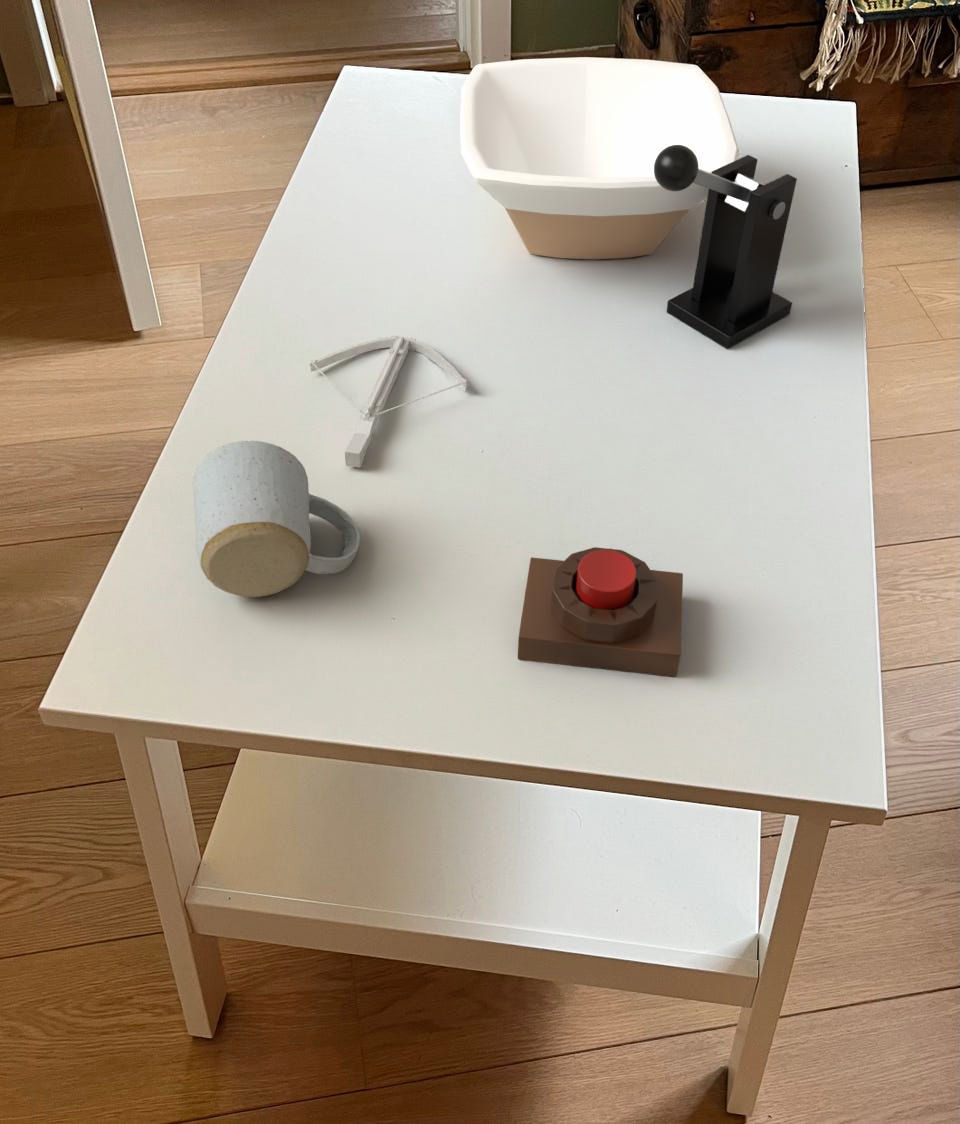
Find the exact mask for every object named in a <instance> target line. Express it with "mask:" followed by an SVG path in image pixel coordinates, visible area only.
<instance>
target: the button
mask: <svg viewBox="0 0 960 1124" xmlns="http://www.w3.org/2000/svg"><path fill="white" fill-rule="evenodd" d="M635 579H636V568H635V566H634V564H633V562H632V561H631V560H630V559H629V558H628V557H627V556H625V555H623V554H621V553H619V552H616V551H612V550H598V551H594V552H591V553H589V554H587V555H586V556H585V557H583V559H582V560H581V561H580V563H579V565H578V572H577V583H576V590H577V594H578V595H579V597H580V599H581V600H582V601H583V602H584V603H586V604H587V605H589V606H591V607H593V608H596V609H603V610H614V609H618V608H621V607H623V606H624V605H626V604H627V603H628V602H629V601H630V600H631V598H632V596H633V593H634V586H635Z"/></svg>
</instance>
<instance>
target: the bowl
mask: <svg viewBox="0 0 960 1124" xmlns="http://www.w3.org/2000/svg"><path fill="white" fill-rule="evenodd" d="M460 90H461V92H460V93H461V94H460V117H459V119H460V120H459V121H460V123H459V125H460V153H461V158H462V159H463V161H464V163H465V165H466V167H467V169H468V171H469V173H470V175H471V176H472V178H473V180H474V182H475V183H476V184H477V185H478V186H479V187H481V188H482V189H483V190H484V191H485V192H486V193H487V194H488V195H489V196H491V197H492V198H493V199H494V200H495V201H496V202H498V204H500V205H501V206H502V207H503V208H504V210H505V212H506V213H507V215H508V217H509V219H510V221H511V223H512V224H513V226H514V227H515V229H516V231H517V234H518V235H519V237H520V239H521V241H522V243H523V244H524V246H525V248H526V250H527V252H528V253H529V254H530V255H534V256H543V257H548V258H549V257H550V258H556V259H573V260H574V259H575V260H576V259H577V260H609V259H610V260H611V259H628V258H635V257H641V256H649V255H652V254H654V253H655V251H656V250H657V249H658V247H660V245H661V244H662V243H663V241H664V240H665V239H666V238H667V236H669V235H670V233H671V232H672V231H673V230H674V229H675V227H676V226H677V225H678V224H679V222H680V221H681V220H682V219H683V218H684V217H685V216H686V214H687V213H688V212H689V211H690V210H691V209H693V208H695V207H696V206H698V205H700V204H701V203H703V202H704V201H707V197H708V190H709V189H708V188H706V187H703V186H700V185H697V184H695V183H692V184H691V185H690V186H689V187H687V188H686V189H684V190H681V191H669V190H666V189H664V188H663V187H662V186H660V185H659V183H658V182H657V180H656V178H655V175H654V163H655V160H656V158H657V156H658V155H659V153H660V152H661V151H662V150H663V149H665V148H666V147H669V146H671V145H683V146H686V147H688V148H689V149H691V150H692V151H693V152H694V154H695V155H696V157H697V160H698V165H699V167H698V168H699V169H702V170H704V171H707V172H709V173H711V172H712V171H714V170H716V169H718V168H721V167H723V166H725V165H727V164H729V163H731V162H734V161H736V160H738V159H739V155H740V148H739V144H738V143H737V139H736V135H735V133H734V132H735V131H734V130H733V127H732V123H731V120H730V117H729V114H728V111H727V108H726V106H725V103H724V101H723V98H722V96H721V95H722V94H721V93H720V90H719V88H718V86H717V85H716V84H715V83H714V82H713V80H711V79H710V78H709V76H708V75H707V74H706V73H705V72H704V71H703V70H702V69H701V68H700V67H699V66H698V65H696V64H691V63H682V62H672V61H665V60H653V59H640V58H639V59H638V58H617V57H616V58H615V57H614V58H613V57H591V56H590V57H589V56H584V57H583V56H581V57H580V56H578V57H553V58H552V57H551V58H550V57H549V58H548V57H547V58H525V59H524V58H523V59H513V60H504V61H495V62H486V63H478V64H476V65H475V66H474V67H473V68H472V70H471V71H470V73H469V74H468V76H467V77H466V80H465V81H464V83H463V85H462V86H461V89H460Z"/></svg>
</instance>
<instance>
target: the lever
mask: <svg viewBox="0 0 960 1124" xmlns="http://www.w3.org/2000/svg"><path fill="white" fill-rule="evenodd" d="M698 167H699V165H698V160H697V157H696V155H695V154H694V152H693V151H692V150H691V149H689V148H688V147H686V146H683V145H671V146H669V147H666V148H665V149H663V150H662V151H661V152H660V153H659V155H658V156H657V158H656V160H655V163H654V175H655V178H656V180H657V182H658V183H659V185H660V186H662V187H663V188H664V189H666V190H669V191H681V190H684V189H686V188H687V187H689V186H690V185H691V184H692V183H695V184H697V185H700V186H703V187H706V188H708V189H711V190H714V191H717V192H719V193H722V194H725V195H727V197H726V199H725V201H724V202H725V203H727V204H729V205H731V206H733V207H735V208H737V209H739V210H741V211H743V212H744V213H747V208H748V202H749V197H750V192H751V191H753V190H755V189H757V188H759V187H761V186H763V185H765V184H766V183H763V182H761V181H759V180H757V179H755V178H754V179H753V178H750V177H748V176H745V175H743V174H740V173H738V175H737V177H736V179H735V181H734V182H733V181H730V180H728V179H725V178H722V177H720V176H717V175H715V174H712V173H709V172H707V171H704V170H702V169H699V168H698Z"/></svg>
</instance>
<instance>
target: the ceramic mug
mask: <svg viewBox="0 0 960 1124" xmlns="http://www.w3.org/2000/svg"><path fill="white" fill-rule="evenodd" d="M192 490H193V508H194V509H193V510H194V523H195V543H196V554H197V557H198V560H199V561H198V562H199V564H200V568H201V570H202V572H203V574H204V576H205V578H206V579H207V580H208V581H209V582H210V583H211V584H212V585H213V586H215V587H216V588H217V589H220V590H221V591H223V592H225V593H228V594H232V595H234V596H238V597H246V598H259V597H266V596H271V595H274V594H278V593H280V592H282V591H284V590H286V589H288V588H290V587H292V586H293V585H295V584H296V583H297V582H298V581H299V580H300V579H301V578H302V576H303V575H304V573H305V572H309V573H312V574H318V575H325V574H327V575H331V574H338V573H341V572H343V571H344V570H346V569H347V568H348V567H350V565H351V564H352V562H353V560H354V559H355V557H356V555H357V553H358V550H359V548H360V543H361V539H360V538H361V537H360V536H361V535H360V531H359V527H358V525H357V523H356V521H355V520H354V519H353V518H352V516H351V515H350V514H349V513H348V512H346V511H345V510H343V509H342V508H341V507H339V506H338V505H337V504H334V503H333V502H331V501H329V500H327V499H325V498H322V497H319V496H317V495H313V494H310V491H309V477H308V474H307V471H306V469H305V466H304V465H303V463H302V462H301V461H300V460H299V459H298V457H296V456H295V455H294V454H293V453H292V452H290V451H289V450H287V449H285V448H283V447H281V446H279V445H276V444H274V443H270V442H266V441H261V440H239V441H233V442H230V443H227V444H224V445H221V446H219V447H217V448H215V449H213V450H212V451H210V452H208V454H207V455H205V456H204V458H203V459H202V460H201V461H200V462H199V464H197V467H196V469H195V471H194V474H193V478H192ZM310 514H311V515H313V516H315V517H319V518H320V519H323V520H325V521H326V522H328V523H330V524H332V525H333V526H334V527H335V528H337V529H338V531H340V533H342V536H343V539H344V550H343V551H342V553H341V556H337V557H331V556H328V557H327V556H321V555H314V554H312V553H311V549H312V548H311V547H312V536H311V534H312V533H311V526H310V525H311V524H310Z"/></svg>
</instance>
